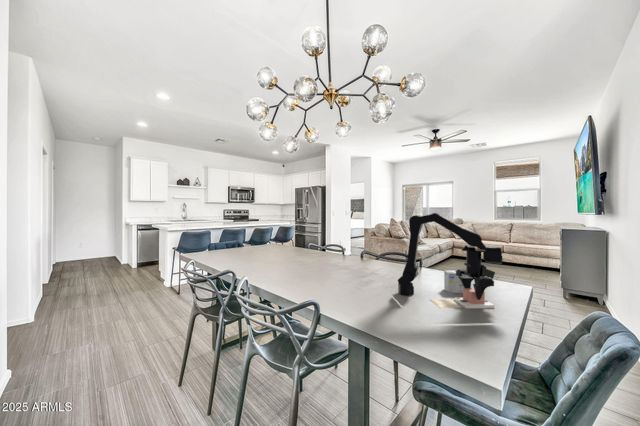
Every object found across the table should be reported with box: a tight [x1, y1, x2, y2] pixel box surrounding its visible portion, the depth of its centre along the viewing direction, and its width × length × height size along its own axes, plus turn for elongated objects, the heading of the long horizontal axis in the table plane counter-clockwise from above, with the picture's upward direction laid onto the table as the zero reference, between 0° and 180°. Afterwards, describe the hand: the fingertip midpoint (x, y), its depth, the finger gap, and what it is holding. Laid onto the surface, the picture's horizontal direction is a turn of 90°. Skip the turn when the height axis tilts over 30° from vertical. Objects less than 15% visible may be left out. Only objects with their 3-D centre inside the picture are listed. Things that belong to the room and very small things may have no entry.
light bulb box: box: [443, 269, 464, 294], centre depth 137 cm, size 11×7×11 cm, turn 84°
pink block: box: [462, 287, 486, 304], centre depth 118 cm, size 6×6×5 cm
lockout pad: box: [429, 299, 464, 309], centre depth 118 cm, size 10×10×1 cm
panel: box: [453, 296, 496, 309], centre depth 118 cm, size 12×10×2 cm
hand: (473, 296), depth 118 cm, fingers open, 7 cm apart
